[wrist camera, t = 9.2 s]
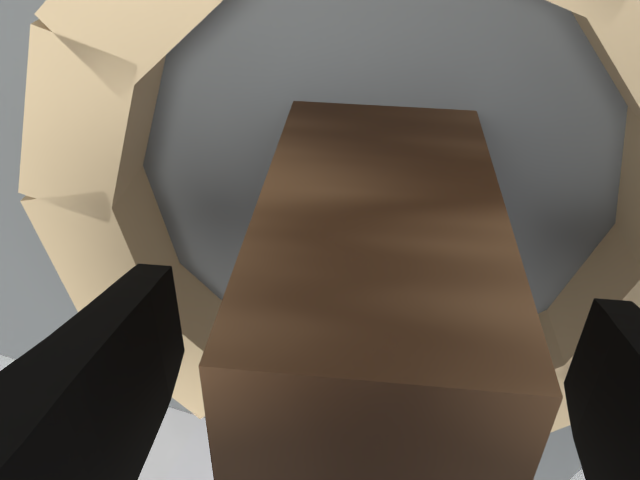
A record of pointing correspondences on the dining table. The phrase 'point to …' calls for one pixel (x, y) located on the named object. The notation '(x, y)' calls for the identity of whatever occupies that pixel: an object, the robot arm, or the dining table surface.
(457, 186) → the wooden peg
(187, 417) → the dining table surface
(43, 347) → the robot arm
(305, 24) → the bead board
